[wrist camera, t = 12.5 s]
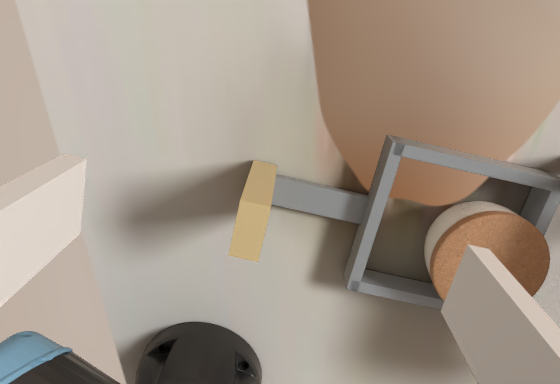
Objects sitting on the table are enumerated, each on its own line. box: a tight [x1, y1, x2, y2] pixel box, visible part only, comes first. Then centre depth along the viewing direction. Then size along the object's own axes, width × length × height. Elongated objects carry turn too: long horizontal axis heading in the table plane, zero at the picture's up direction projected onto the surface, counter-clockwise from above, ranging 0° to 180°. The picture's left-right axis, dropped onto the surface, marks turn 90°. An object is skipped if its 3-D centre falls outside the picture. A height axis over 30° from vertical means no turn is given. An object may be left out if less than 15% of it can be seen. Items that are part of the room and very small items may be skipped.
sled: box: [229, 135, 560, 310], centre depth 43 cm, size 16×30×12 cm, turn 77°
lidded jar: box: [424, 201, 550, 301], centre depth 45 cm, size 11×11×9 cm
